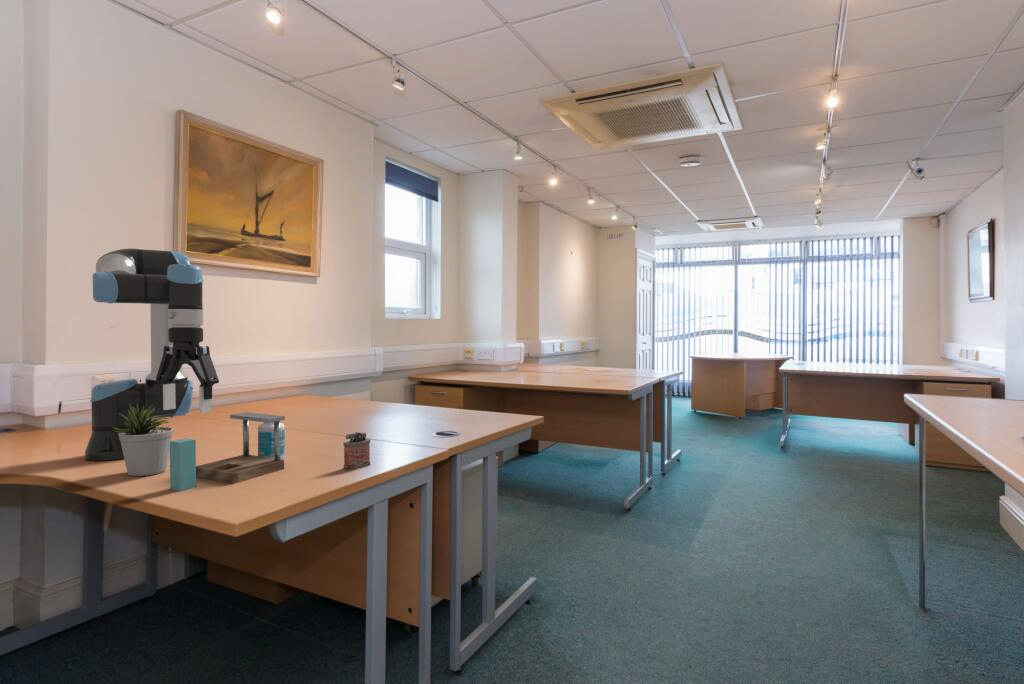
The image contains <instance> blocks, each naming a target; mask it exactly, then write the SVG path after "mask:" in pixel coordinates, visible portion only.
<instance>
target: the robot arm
mask: <svg viewBox="0 0 1024 684" xmlns="http://www.w3.org/2000/svg"><path fill="white" fill-rule="evenodd" d="M203 282H204V278H203V270H202V268H201V267H200V266H198V265H194V264H191V262H190V259H189V257H188V255H186V253H184V252H179V251H172V250H156V249H143V248H142V249H139V248H121V249H116V250H113V251H109V252H107V253H104V254H103V255H102V256H100V257H99V258H98V260H97V262H96V264H95V272H94V273H93V274H92V298H93V300H94V302H96V303H105V304H106V303H107V304H145V305H146V304H147V305H150V310H149V311H150V372H149V373H148V374H147V375H146V376H145V381H144V382H143V383H142V382H141V383H140V382H139V381H138V380H137V379H135V378H131V379H129V378H128V379H120V380H113V381H108V382H103V383H100V384H99V383H98V384H96V385H94V386H93V387H92V389H91V394H90V396H91V398H90V401H89V402H90V403H91V434H90V437H89V439H88V442H87V444H86V448H85V451H84V459H85V460H87V461H93V462H96V461H97V462H98V461H103V462H104V461H105V462H106V461H114V460H121V459H122V460H123V459H124V455H123V450H122V446H121V441H120V440H119V432H116V431H120V430H116V429H114V428H118V429H128V428H129V427H128V426H126V425H125V424H124V423H128V424H130V423H129V421H128V420H126V419H125V418H124V417H123V416H125V417H127V418H128V419H129V416H128V415H129V411H130V414H131V413H132V412H131V409H130V405H131V408H132V407H134V408H135V410H136V412H137V404H138V410H139V413H141V411H142V409H143V405H144V411H145V410H147V409H148V408H149V407H150V406H151V405H152V404H153V405H152V406H151V408H150V409H149V411H150V410H152V409H153V408H154V409H155V410H154V409H153V410H154V412H152V413H151V414H150V415H149V416H148V419H147V420H149V419H150V418H152V417H154V416H159V417H155V418H154V419H159V418H174V417H183V416H185V415H187V414H188V413H189V412H190V410H191V407H192V402H193V397H194V383H193V381H192V380H189V379H188V375H187V374H186V373H185V372H184V371H183V365H188V366H189V367H191V369H192V370H193V373H194V375H195V376H196V378H197V379H198V381H199V383H200V384H199V386H198V397H199V398H198V400H199V401H198V404H199V407H198V408H199V410H198V411H199V414H207V413H212V412H213V411H212V409H213V408H212V407H213V406H212V405H213V404H212V401H213V400H212V399H213V386H214V385H216V384H219V382H220V380H219V377H218V374H217V371H216V368H215V365H214V362H213V361H212V360H213V359H212V357H211V353H210V352H211V351H210V346H209V345H201V346H200V343H203V342H204V329H203V327H201V326H203V325H204V309H203V308H204V307H203ZM132 410H133V408H132ZM153 410H152V411H153ZM149 411H148V412H149ZM118 413H119V414H118ZM145 413H146V412H145ZM120 414H121V415H123V416H121V415H120ZM131 415H132V414H131ZM144 415H145V414H144ZM132 416H133V415H132ZM130 425H131V424H130ZM113 427H114V428H113ZM114 430H115V431H114Z"/></svg>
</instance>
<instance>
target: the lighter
mask: <svg viewBox="0 0 1024 684" xmlns="http://www.w3.org/2000/svg"><path fill="white" fill-rule="evenodd" d="M345 439H346V440H349V441H344V442H343V447H344V448H343V454H344V455H343V458H344V459H343V460H344V462H343V464H344V465H343V470H346V471H347V470H348V471H349V470H355V469H356V470H357V469H361V468H366V467H370V466H371V460H370V458H371V457H370V456H371V455H370V451H371V450H370V447H371V445H370V443H371V439H370V438H367V432H365V431H364V432H359V431H356V432H353V433H347V434H346V435H345Z"/></svg>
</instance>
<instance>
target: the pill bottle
mask: <svg viewBox="0 0 1024 684" xmlns="http://www.w3.org/2000/svg"><path fill="white" fill-rule="evenodd" d="M285 432H286V429H285V425H284V423H282V422H280V460H284V459H285V457H286V455H285V454H286V451H285V450H286V449H285V445H286V442H285V438H286V437H285V435H286V433H285ZM257 456H261V457H267V458H274V422H271V423H266V422H262V423H261V424H260V425H258V427H257Z"/></svg>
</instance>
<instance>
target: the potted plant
mask: <svg viewBox="0 0 1024 684" xmlns="http://www.w3.org/2000/svg"><path fill="white" fill-rule="evenodd" d="M152 405H153V404H152ZM152 405H151V406H152ZM151 406H150V407H149V408H148V409H147V410H145V411H144V405H143V409H142V411H141V413H139V410H138V404H137V412H136V410H135V408H134V407H132V408H133V410H132V408H131V405H130V409H131V412H132V413H131V414H132V415H133V416H132V415H131V414H130V411H129V415H128V416H129V419H128V418H127V417H125V416H123V415H121V414H120V415H121V416H123V417H124V418H125V419H126V420H128V421H129V423H130V424H131V425H130V424H128V423H124V424H125V425H126V426H128V427H129V428H128V429H118V428H114V427H113V428H114V429H116V430H120V431H116V432H119V440H120V441H121V446H122V450H123V455H124V458H123V459H124V464H125V468H126V472H127V475H129V476H131V477H147V476H149V477H150V476H155V475H158V474H161V473H163V472H165V471H166V470H167V468H168V463H169V458H170V441H172V437H173V435H174V428H173V427H170V426H161V425H164V424H168V423H169V421H168V420H169V417H165V418H155V417H159V416H154V417H152V418H150V419H148V416H149V415H150V414H151V413H152V412H154V410H155V409H154V408H153V409H154V410H153V409H152V410H153V411H152V410H150V411H149V409H150V408H151ZM148 411H149V412H148ZM145 412H146V413H145ZM118 414H119V413H118ZM144 414H145V415H144ZM114 431H115V430H114Z"/></svg>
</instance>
